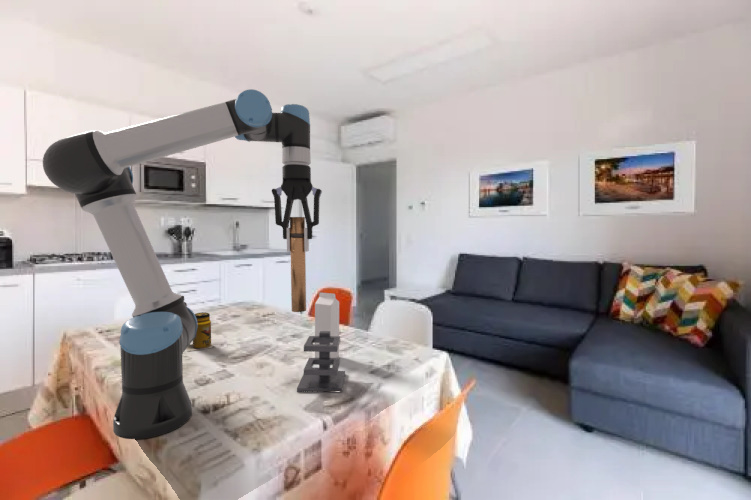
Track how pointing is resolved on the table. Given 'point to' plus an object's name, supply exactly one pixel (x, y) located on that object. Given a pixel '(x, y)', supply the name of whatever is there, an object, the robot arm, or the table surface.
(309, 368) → the collar stand
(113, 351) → the table surface
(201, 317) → the condiment
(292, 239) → the brown wooden cylinder
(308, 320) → the table surface
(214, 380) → the table surface
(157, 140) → the robot arm
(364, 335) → the table surface
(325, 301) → the milk
